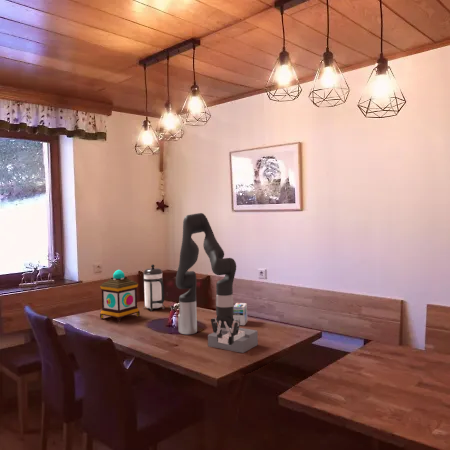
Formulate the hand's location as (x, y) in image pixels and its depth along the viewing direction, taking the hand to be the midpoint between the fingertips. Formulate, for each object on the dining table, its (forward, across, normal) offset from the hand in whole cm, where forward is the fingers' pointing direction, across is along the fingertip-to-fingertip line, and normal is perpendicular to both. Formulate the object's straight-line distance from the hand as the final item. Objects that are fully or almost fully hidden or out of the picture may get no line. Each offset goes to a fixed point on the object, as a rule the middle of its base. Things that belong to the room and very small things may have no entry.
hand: (225, 343), depth 190 cm
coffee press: (+9, -97, +62) cm, 116 cm away
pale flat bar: (-1, 0, +5) cm, 5 cm away
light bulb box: (+9, -29, +60) cm, 67 cm away
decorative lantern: (+9, -101, +34) cm, 107 cm away
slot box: (+9, -11, +23) cm, 27 cm away
